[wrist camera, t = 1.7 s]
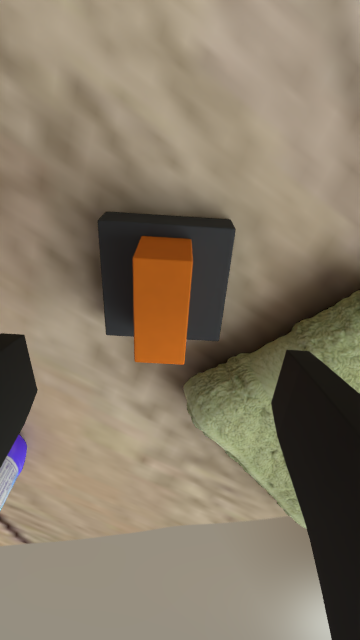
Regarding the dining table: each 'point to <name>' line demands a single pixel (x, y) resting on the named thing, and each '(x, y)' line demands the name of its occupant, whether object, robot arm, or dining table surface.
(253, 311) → the dining table surface
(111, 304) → the connector pad
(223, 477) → the dining table surface
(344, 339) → the washcloth
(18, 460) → the bottle
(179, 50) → the dining table surface
